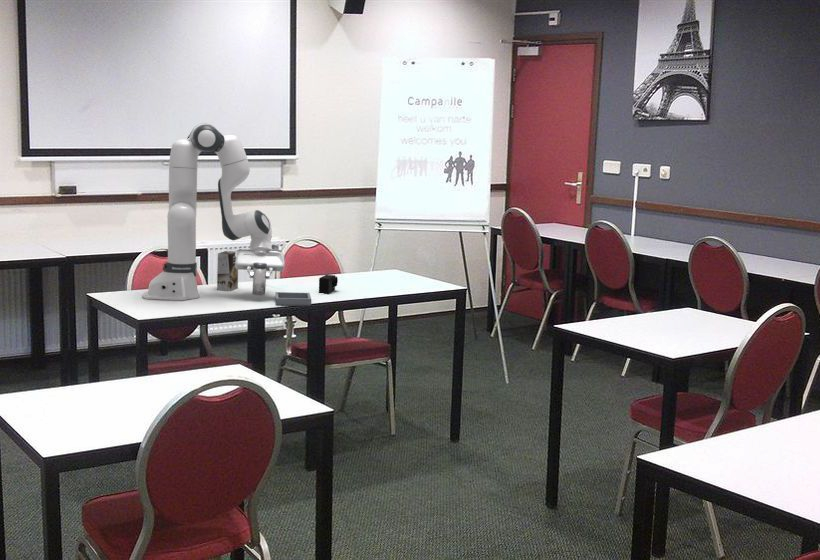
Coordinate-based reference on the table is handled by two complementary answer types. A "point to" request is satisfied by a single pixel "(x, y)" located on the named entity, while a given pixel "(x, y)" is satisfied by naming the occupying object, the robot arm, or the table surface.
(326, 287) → the digital camera
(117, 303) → the table surface
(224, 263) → the coffee box
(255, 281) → the shaker
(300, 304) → the tray
